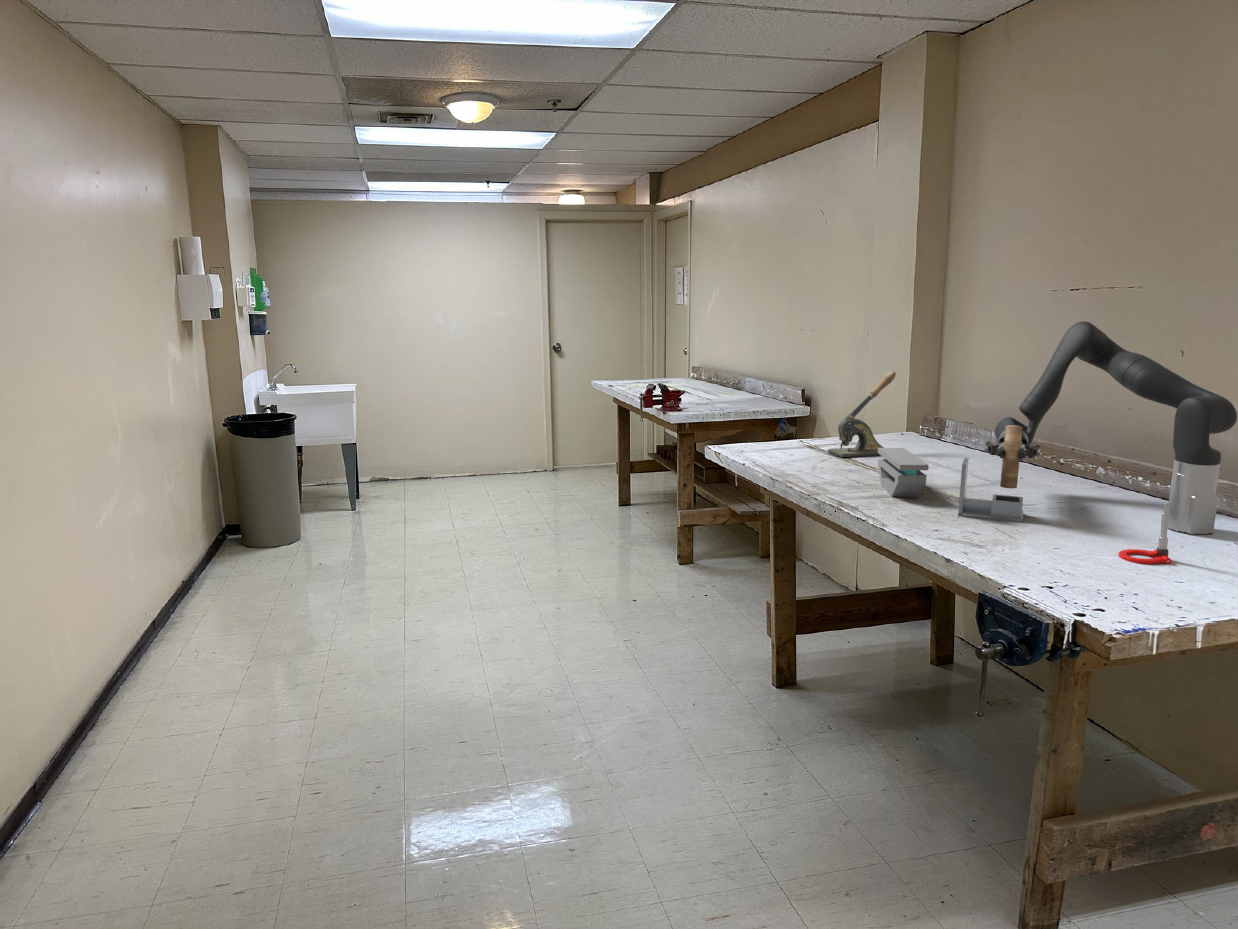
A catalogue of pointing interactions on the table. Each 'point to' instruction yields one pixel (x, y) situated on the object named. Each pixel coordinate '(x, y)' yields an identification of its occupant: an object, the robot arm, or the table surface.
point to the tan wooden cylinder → (1011, 456)
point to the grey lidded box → (901, 472)
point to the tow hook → (1158, 553)
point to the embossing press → (860, 427)
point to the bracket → (989, 503)
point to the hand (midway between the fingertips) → (1011, 455)
